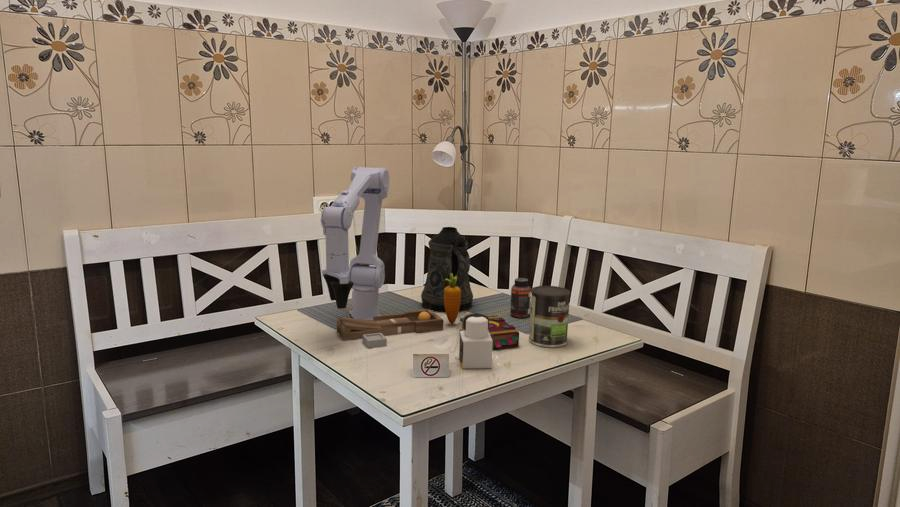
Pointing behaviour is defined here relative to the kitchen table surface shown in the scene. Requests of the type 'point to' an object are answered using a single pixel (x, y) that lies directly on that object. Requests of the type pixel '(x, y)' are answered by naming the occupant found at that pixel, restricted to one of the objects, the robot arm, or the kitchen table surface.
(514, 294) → the supplement bottle
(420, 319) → the ball
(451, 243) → the beer stein
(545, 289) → the coffee can
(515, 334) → the decorative book
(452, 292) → the carrot
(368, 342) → the gray box
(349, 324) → the brown wooden shallow tray
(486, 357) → the medicine bottle
